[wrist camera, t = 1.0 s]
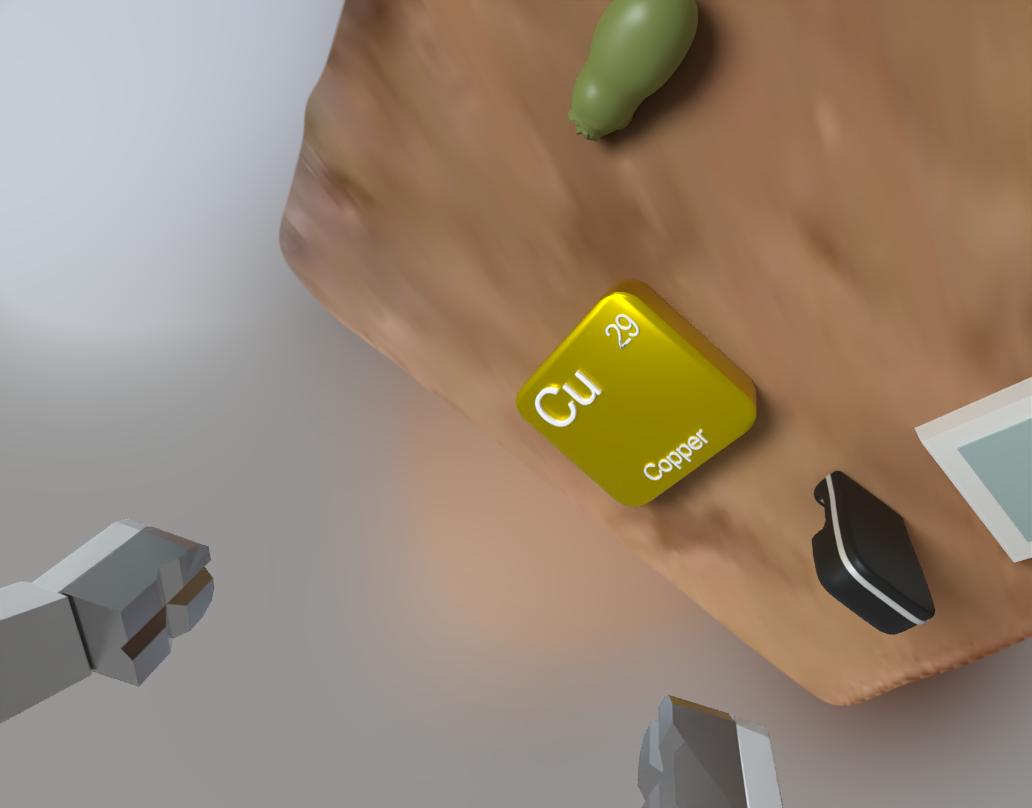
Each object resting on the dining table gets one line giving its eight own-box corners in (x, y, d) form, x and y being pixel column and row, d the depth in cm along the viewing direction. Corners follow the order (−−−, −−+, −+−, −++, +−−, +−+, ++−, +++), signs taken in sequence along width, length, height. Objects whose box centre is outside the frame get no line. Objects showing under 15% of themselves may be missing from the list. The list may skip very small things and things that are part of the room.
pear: (708, 16, 30) (598, 166, 37) (725, 12, 34) (622, 150, 41) (632, -56, 30) (536, 109, 37) (658, -51, 33) (566, 98, 40)
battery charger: (797, 492, 46) (808, 590, 37) (834, 464, 44) (855, 561, 35) (866, 542, 46) (893, 653, 36) (906, 517, 44) (946, 629, 34)
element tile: (640, 489, 52) (630, 519, 48) (522, 384, 52) (503, 407, 48) (768, 391, 44) (769, 419, 40) (629, 266, 43) (616, 281, 39)
